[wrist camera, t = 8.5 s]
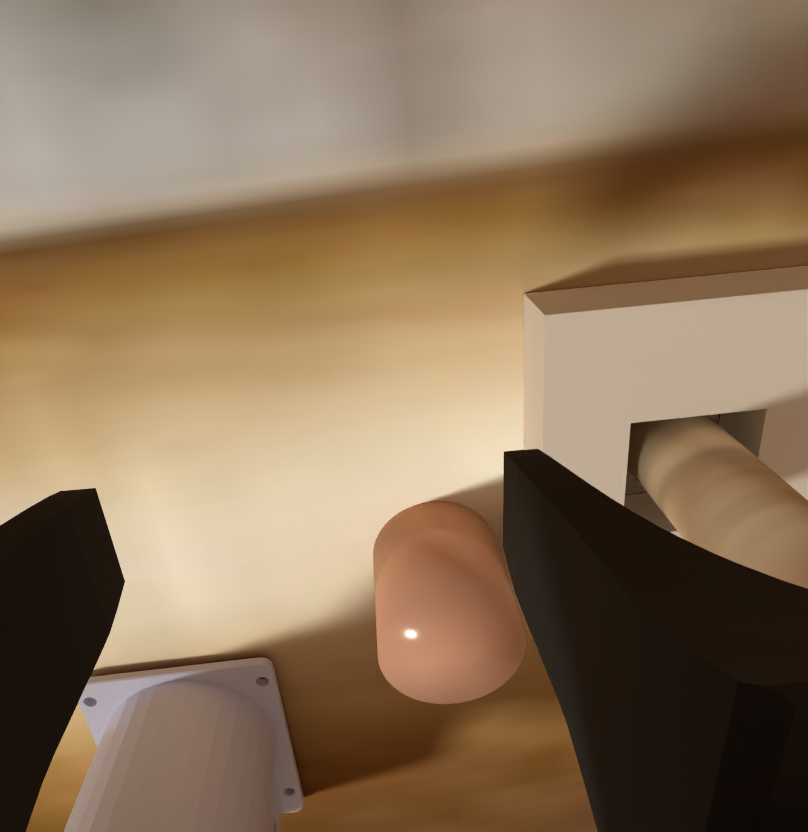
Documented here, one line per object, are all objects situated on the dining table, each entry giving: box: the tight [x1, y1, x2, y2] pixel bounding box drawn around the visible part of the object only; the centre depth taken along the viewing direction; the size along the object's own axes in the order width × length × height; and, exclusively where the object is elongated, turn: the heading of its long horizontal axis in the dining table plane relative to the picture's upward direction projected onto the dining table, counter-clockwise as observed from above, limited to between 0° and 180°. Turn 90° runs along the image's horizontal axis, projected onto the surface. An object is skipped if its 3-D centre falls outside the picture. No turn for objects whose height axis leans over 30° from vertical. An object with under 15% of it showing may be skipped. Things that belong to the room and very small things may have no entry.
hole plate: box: [524, 265, 808, 538], centre depth 22 cm, size 12×10×2 cm
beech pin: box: [627, 415, 808, 589], centre depth 20 cm, size 3×3×8 cm
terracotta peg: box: [373, 501, 527, 704], centre depth 23 cm, size 5×5×5 cm
